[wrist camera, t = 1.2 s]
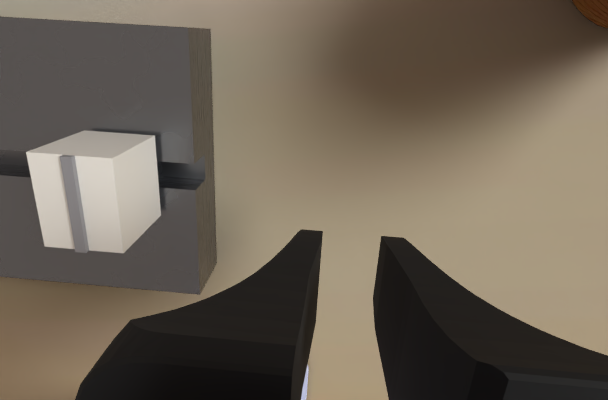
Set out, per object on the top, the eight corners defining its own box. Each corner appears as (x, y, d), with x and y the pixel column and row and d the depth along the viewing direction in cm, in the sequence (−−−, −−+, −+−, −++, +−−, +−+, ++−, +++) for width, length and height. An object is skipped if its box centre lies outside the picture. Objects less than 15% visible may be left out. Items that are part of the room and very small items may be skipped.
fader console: (216, 263, 23) (199, 295, 20) (-110, 235, 24) (-170, 262, 21) (210, 28, 19) (187, 27, 16) (-189, 5, 20) (-279, 0, 17)
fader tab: (173, 202, 20) (121, 256, 15) (112, 198, 20) (41, 248, 15) (168, 127, 19) (109, 160, 14) (103, 123, 19) (21, 153, 14)
